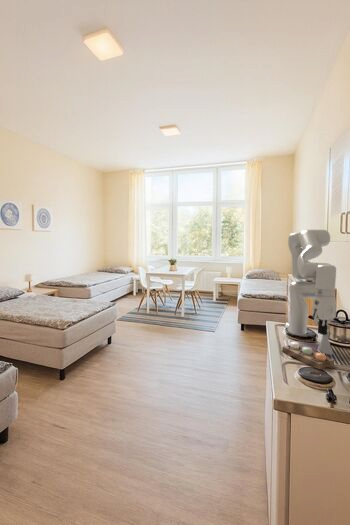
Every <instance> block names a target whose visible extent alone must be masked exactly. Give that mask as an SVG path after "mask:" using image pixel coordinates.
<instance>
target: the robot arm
mask: <svg viewBox="0 0 350 525" xmlns="http://www.w3.org/2000/svg"><path fill="white" fill-rule="evenodd" d="M287 242H288V244H287V245H288V248H289V251H290V255H291V275H292V278H294V279H296V280H297V279H298V281H293V282H291V283H290V285H289V286H288V287H289V288H288V290H289V299H290V302H289V319H288V320H289V321H288V323H285V324H284V328H287V330H289V331H290V332H292V333H294V334H301V335H303V334H306V333H308V314H309V304H308V303H307V302H306V300H305V299H311V300H313V302H312V310H311V311H312V312H311V313H312V314H311V315H312V318H313V322H315V323H317V325H318V326H317V334H320V335H322V336H323V335H327V332H328V326H329V323H330V322H331V321H332V320H334V319H335V318H336V317H337V299H336V282H337V281H336V279H337V267H336V266H335V265H334V264H333V265H332V264H330V263H325V262H308V261H310V260H313V259H316V258H318V257H319V256H320V255H322V253H323V248H322V247H326V246H328V245H329V244H330V242H331V235H330V232H329V231H328V230H327V229H304V230H302V231H299V232H298V231H297V232H292V233H290V234H289V236H288V239H287ZM299 280H306V281H299ZM307 280H309V281H307Z"/></svg>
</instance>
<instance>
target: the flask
mask: <svg viewBox="0 0 350 525" xmlns="http://www.w3.org/2000/svg"><path fill="white" fill-rule="evenodd" d="M329 335H330V332H328V331H327V335H322V336H321V337H322V338H321V339H320V342H319V344H318V346H317V348H318V350H319V351H320V352H321V353H324V354H326V356H330V355H331V356H333V350H332V346H331V343H330V340H329Z"/></svg>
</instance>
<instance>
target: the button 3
mask: <svg viewBox="0 0 350 525" xmlns="http://www.w3.org/2000/svg"><path fill="white" fill-rule="evenodd" d="M326 357H327V355H325V354H323V353H319V352H317V353H316V357H315V359H316V360H318V361H320V362H325V361H326Z"/></svg>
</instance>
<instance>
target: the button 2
mask: <svg viewBox="0 0 350 525" xmlns="http://www.w3.org/2000/svg"><path fill="white" fill-rule="evenodd" d="M312 350H313V349H312V348H311V347H308V346H303V348H302V353H303V354H305V355H307V356H309V355H312Z"/></svg>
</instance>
